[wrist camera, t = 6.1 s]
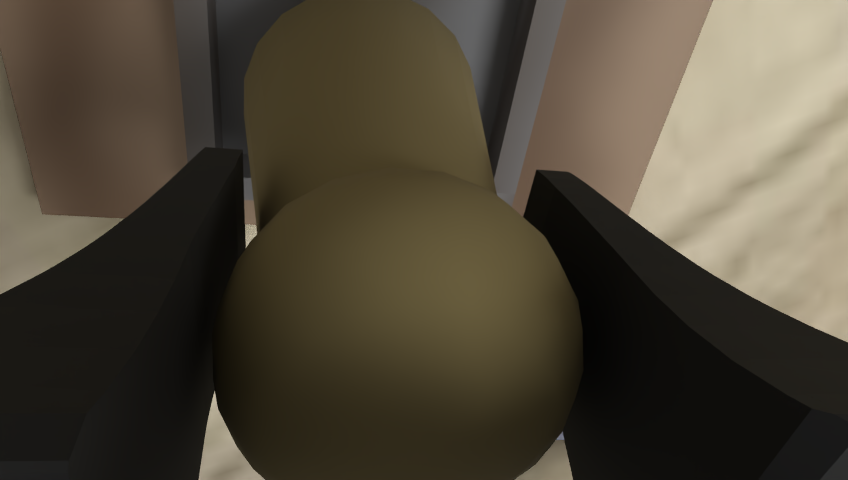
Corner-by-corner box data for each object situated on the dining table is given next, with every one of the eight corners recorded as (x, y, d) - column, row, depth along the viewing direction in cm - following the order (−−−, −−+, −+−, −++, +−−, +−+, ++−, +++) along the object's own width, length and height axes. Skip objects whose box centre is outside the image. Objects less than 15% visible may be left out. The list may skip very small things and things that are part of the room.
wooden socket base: (767, -206, 17) (829, -199, 15) (606, 223, 25) (631, 267, 23) (-75, -359, 14) (-150, -378, 12) (54, 194, 22) (24, 242, 20)
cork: (223, -9, 15) (84, 265, 6) (479, -18, 16) (706, 215, 7) (260, 214, 18) (207, 609, 9) (469, 199, 19) (612, 553, 10)
